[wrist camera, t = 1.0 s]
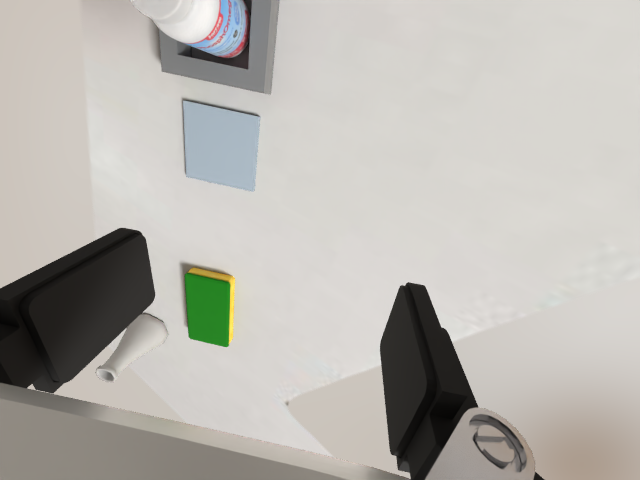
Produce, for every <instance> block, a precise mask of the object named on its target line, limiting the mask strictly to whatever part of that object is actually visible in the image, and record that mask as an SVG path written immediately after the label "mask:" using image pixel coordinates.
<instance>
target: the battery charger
mask: <svg viewBox="0 0 640 480" xmlns="http://www.w3.org/2000/svg"><path fill="white" fill-rule="evenodd" d="M278 10H279V0H252V9H251V27H250V45H249V63H248V69H243V68H238V67H234V66H229V65H224V64H219V63H215V62H210V61H205V60H201V59H196V58H191V46H190V45H187V44H185V43H182V42H180V41H177V40H175V39H173V38H171V37H169V36H168V35H166V34H165V33H164V32H163V31H161V30H160V29H159V39H160V53H161V67H162V72H166V73H171V74H176V75H181V76H185V77H190V78H195V79H199V80H204V81H209V82H213V83H218V84H223V85H227V86H232V87H237V88H241V89H246V90H251V91H255V92H260V93H265V94H271V86H272V75H273V64H274V53H275V43H276V32H277V21H278Z"/></svg>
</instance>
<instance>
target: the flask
mask: <svg viewBox="0 0 640 480" xmlns="http://www.w3.org/2000/svg"><path fill="white" fill-rule="evenodd" d="M167 336H168V332H167V330H166V327H165V325H164V323H163V322H162V321H160V320H158V319H156V318H154V317H152V316H150V315H149V314H140V315H139V316H138V317H137V318H136V319H135V320H134V321H133V322H132V323H131V324H130V325H129V326H128V327H127V330H126V332H125V334H124V336H123V337H122V339H121V341H120V343H119V345H118V347H117V349H116V350H115V351H114V353H113V354H112V356H111V357H110V358H109V359H108V361H107V362H106V363H105V364H104V365H102V366H99V367H98V368H97V369H96V375H97V376H98V378H99V379H101V380H103V381H106V382H112V383H114V382H115V381H116V379H117V376H118V375H119V374H120V372H121V371H122V370H123V369H124V368H126V367H127V366H128V365H129V364H131V363H132V362H133V361H135V360H136V359H138V358H140V357H141V356H143V355H144V354H146V353H148V352H149V351H151V350H153V349H155V348H156V347H158V346H160V345H161V344H163V343H164V342H165V340H166V338H167Z"/></svg>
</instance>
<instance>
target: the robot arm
mask: <svg viewBox="0 0 640 480" xmlns="http://www.w3.org/2000/svg"><path fill="white" fill-rule="evenodd" d="M154 298H155V290H154V284H153V279H152V273H151V267H150V261H149V255H148V249H147V243H146V239H145V237H144V236H142V233H141V232H140V231H137V230H132V229H127V228H119V229H117V230H115V231H113V232H111V233H109V234H107V235H105V236H103V237H101V238H99V239H97V240H95V241H93V242H91V243H89V244H87V245H86V246H83V247H81V248H80V249H78V250H76V251H74V252H72V253H70V254H68V255H66V256H64V257H62V258H60V259H58V260H56V261H54V262H52V263H50V264H48V265H46V266H44V267H42V268H40V269H38V270H36V271H34V272H32V273H30V274H28V275H26V276H24V277H22V278H20V279H18V280H16V281H14V282H13V283H10V284H8V285H6V286H4V287H2V288H0V480H544V479H543V478H542V477H540V476H539V475H538V474H537V473H536V472H535V460H534V457H533V454H532V451H531V449H530V447H529V446H528V444H527V442H526V440H525V439H524V437H523V436H522V435H521V434H520V433H519V431H518V430H517V429H516V428H515V427H514V426H512V425H511V424H510V423H509V422H508V421H507V420H506V419H504V418H503V417H501V416H500V415H498V414H497V413H495V412H492V411H489V410H487V409H485V408H484V409H483V408H478V405H477V403H476V400H475V398H474V395H473V393H472V390H471V388H470V386H469V383H468V381H467V378H466V376H465V373H464V371H463V369H462V366H461V364H460V361H459V359H458V356H457V354H456V351H455V349H454V346H453V344H452V341H451V339H450V336H449V334H448V332H447V330H446V329H444V328H441V326H440V323H439V320H438V318H437V315H436V313H435V310H434V308H433V305H432V302H431V300H430V297H429V295H428V292H427V289H426V287H425V286H424V285H419V284H414V283H409V282H408V283H407V284H406V285H405V286H402V285H401V286H400V288H399V290H398V293H397V296H396V299H395V302H394V305H393V308H392V310H391V313H390V316H389V319H388V322H387V325H386V328H385V331H384V333H383V336H382V339H381V344H380V354H381V364H382V374H383V384H384V395H385V404H386V415H387V424H388V435H389V446H390V452H391V454H392V455H395V456H397V465H398V470H400V471H405V472H409V473H410V476H411V479H409V478H406V477H403V476H399V475H396V474H392V473H389V472H386V471H382V470H380V469H376V468H373V467H369V466H365V465H361V464H357V463H353V462H349V461H345V460H341V459H337V458H333V457H329V456H325V455H321V454H317V453H313V452H309V451H305V450H300V449H296V448H291V447H287V446H283V445H278V444H274V443H270V442H265V441H261V440H256V439H252V438H248V437H243V436H239V435H235V434H230V433H226V432H221V431H217V430H213V429H208V428H204V427H199V426H195V425H190V424H186V423H181V422H177V421H172V420H168V419H163V418H159V417H154V416H150V415H145V414H141V413H136V412H132V411H127V410H122V409H118V408H114V407H109V406H105V405H100V404H96V403H91V402H87V401H82V400H77V399H73V398H68V397H63V396H59V395H54V394H50V393H54V392H55V391H56V390H57V389H58V388H59V387H60V386H62V384H63V383H66V382H68V381H70V380H72V379H73V378H74V377H75V376H76V375H77V374H78V373H79V372H80V371H81V370H82V369H83V368H84V367H86V365H88V364H89V363H90V362H91V361H92V360H93V359H94V358H95V357H96V356H97V355H98V354H99V353H100V352H101V351H102V350H103V349H104V348H105V347H107V346H108V345H109V344H110V343H111V342H112V341H113V340H114V339H115V338H116V337H117V336H118V335H119V334H120V333H121V332H122V331H123V330H124V329H125V328H126V327H128V326H129V325H130V324H131V323H132V322H133V321H134V320H135V319H136V318H137V317H138V316H139V315H140V314H141V313H142V312H143V311H144V310H145V309H146V308H147V307H148V306H150V305H151V303H152V302H153V301H154ZM31 384H33V386H34V387H35V389H36V390H40V391H45V392H49V393H45V392H40V391H36V390H31V389H27V387H28V386H30V385H31Z"/></svg>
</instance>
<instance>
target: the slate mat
mask: <svg viewBox="0 0 640 480" xmlns="http://www.w3.org/2000/svg"><path fill="white" fill-rule="evenodd" d="M183 109H184V133H185V157H186V177H189V178H194V179H198V180H203V181H207V182H212V183H216V184H221V185H225V186H230V187H234V188H239V189H243V190H248V191H252V192H253V191H254V190H255V177H256V164H257V151H258V138H259V126H260V117H259V116H255V115H250V114H245V113H241V112H236V111H231V110H227V109H222V108H218V107H213V106H208V105H204V104H199V103H194V102H190V101H183Z"/></svg>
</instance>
